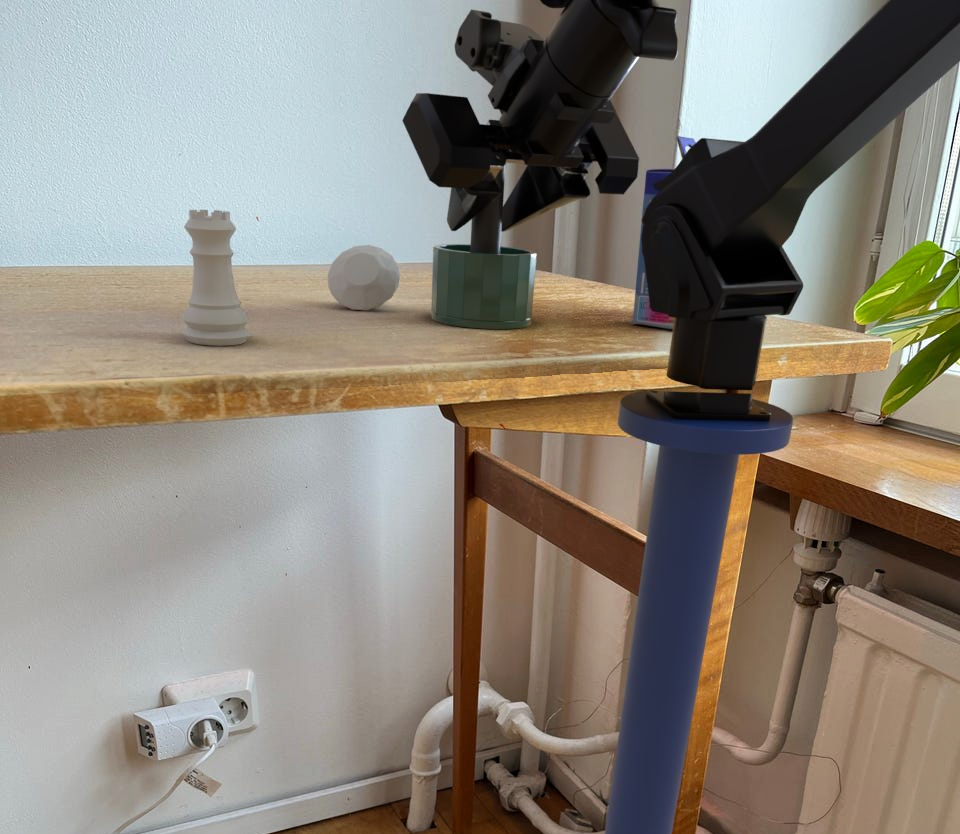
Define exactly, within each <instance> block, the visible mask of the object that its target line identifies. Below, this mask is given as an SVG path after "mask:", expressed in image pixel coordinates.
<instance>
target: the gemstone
mask: <svg viewBox="0 0 960 834" xmlns="http://www.w3.org/2000/svg"><path fill="white" fill-rule="evenodd" d="M400 279H401V272H400V267H399V265H398V262H397V261H396V259H395V258H394V256H393V255H392V254H390V253H389V252H387V251H386V250H385V249H384V248H382V247H378V246H375V245H370V244H364V245H355V246H352V247H350V248H348V249H346V250H344V251H342V252H341V253H340V254H339V255H338V256H337V257H336V258H335V259H334V260H333V261H332V263H331V265H330V267H329V271H328V273H327V286H328V288H329V292H330V294H331V296H332V297H333V299H335V300H336V302H337V303H339V305H341V306H344V307H346V308H348V309H350V310H351V311H353V310H354V311H355V310H360V311H366V312H367V311H369V310H371V309H375V308H380V307H381V306H383V305H384V304H385V303H386V302H388V301H389V300H391V299H392V298H393V296H394V295H395V293H396V292H397V289H398V288H399V286H400Z"/></svg>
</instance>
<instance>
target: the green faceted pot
mask: <svg viewBox="0 0 960 834" xmlns="http://www.w3.org/2000/svg"><path fill="white" fill-rule="evenodd" d="M470 245H471V243H443V244H442V243H441V244H435V245H434V246H433V249H432V275H431V277H432V278H431V279H432V281H431V308H430V310H431V311H430V312H431V319H432V320H433V321H434V322H437V323H440V324H444V325H448V326H453V327H461V328H470V329H480V330H481V329H482V330H483V329H484V330H514V329H522V328H527V327H529V326H531V325H532V317H533V306H534V305H533V304H534V294H535V283H536V282H535V281H536V280H535V279H536V268H537V256H538V253H537V251H534V250H531V249H528V248H527V249H526V248H520V247H513V246H512V247H511V246H503V245H501V247H500V254H488V253H474V252H470Z"/></svg>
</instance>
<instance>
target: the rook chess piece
mask: <svg viewBox="0 0 960 834" xmlns="http://www.w3.org/2000/svg"><path fill="white" fill-rule="evenodd" d="M188 216H189V218H188V219H187V221H186V223H185V224H184V226H183V228H184V229H185V230H186V232H187V234H188V235H189V236H190V237H191V240H192V245H191V247H192V248H190V250H189V254H190V255H191V257H192V263H193V274H192V275H193V276H192V288H191V295H190V299H188V300H187V304H188V307H187V308H186V309H185V310H184V311H183V313H182V319H181V320H182V321H183V322H184V324H186V326H187V327H186V328H185V329H184V330H183V331H182V335H183V336H184V338H185V339H186V340H187V341H188V342H190V343H191V344H195V345H200V346H201V345H203V346H217V347H218V346H219V347H222V346H223V347H224V346H236V345H241V344H242V345H243V344H244V343H246V342H247V341H248V339H249V337H250V336H251V332H250V331H249V330H248V329H247V328H245V327H246V325H247V324H248V323H249V319H250V318H249V316H248V313H247V312H246V310H245V309H243V307H242V306H241V305H242V301H241V300H240V299H239V297H238V294H237V290H236V285H235V279H234V273H233V266H232V257H233V256H234V254H235V252H234V251H233V250H232V247H231V238H232V237H233V236H234V234H235V232H236V230H237V227H236V225H235V224H234V223H233V221H231V212H230V211H228V210H227V211H224V210H218V209H217V210H216V209H214V210H213V211H211V212H210V215H209V210H208V209H199V211H198V209H189V210H188Z"/></svg>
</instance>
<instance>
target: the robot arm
mask: <svg viewBox="0 0 960 834" xmlns="http://www.w3.org/2000/svg"><path fill="white" fill-rule="evenodd" d="M539 1H540V2H541V4H542V5H544V6H545V7H547V8H549V9H563V10H562V11H561V12H560V14H559V16H558V18H557V19H556V21H555V23H554V25H553V27H552V28H551V30H550V31H549V33H548V35H547V36H546V38H543V37H542V36H541V35H540V34H539V33H537V31H535V30H534V29H532V28H531V27H529V26H526V25H524V24H521V23H515V22H509V21H503V20H499V19H496V18H495V19H494V18H493V15H492V13H491V12H489V11H483V10H477V9H470V11H469V12H468V14H467V15H466V17H465V19H464V20H463V22H462V23H461V25H460V26H459V29H458V31H457V34H456V39H455V43H454V52H455V56H456V57H457V58H458V59H459V60H460V61H461V62H463V64H465V65H466V66H467V68H468V69H469V70H470V71H472V72H473V73H477V74H479V75H480V76H481V77H482V78H483V79H484V80H485V81H486V82H487V83H488V84H490V86H492V87H491V89H490V91H489V92H488V94H487V98H488V100H489V102H490V104H491V107H492V108H493V109H494V110H499V112H500V114H501V115H500V117H499V119H488V120H487V122H486V124H483V123H480V121H479V119H478V118H477V115H476V113H475V111H474V109H473V107H472V104H471V103H470V100H469V98H468V97H467V96H459V95H447V94H438V93H430V92H419V93H418V92H417V93H416V94H415V95H414V97H413V99H412V100H411V102H410V104H409V106H408V108H407V110H406V112H405V114H404V116H403V118H402V120H401V121H402V124H403V125H404V127H405V130H406V132H407V135H408V137H409V138H410V141H411V143H412V145H413V148H414V150H415V152H416V155H417V157H418V159H419V161H420V163H421V166H422V167H423V169H424V172H425V174H426V176H427V178H428V181H430V182H431V183H432V184H434V185H435V186H436V187H438V188H450V194H449V202H448V207H447V216H446V223H447V226H448V227H449V229H450V231H451V232H457V231H458V230H459V229H461V228H462V227H465V226H466V224H468V223H469V222H471V221H472V218H474V217H475V216H476V215H477V214H478V213H479V212H481V211H482V210H483V209H484V208H485V207H486V206H488V205H489V204H490V203H491V202H493V201H494V200H495V199H496V198H497V197H498V196H500V195H501V193H502V192H501V189H500V187H499V185H498V183H497V181H496V179H495V177H496V176H497V174H498V173H499V171H500V170H501V169H503V168H504V166H505V164H520V165H521V164H523V165H525V166H526V167H525V169H524V171H523V172H522V174H521V175H520V177H519V179H518V180H517V182H516V183H515V185H514V187H513V189H512V190H511V192H510V194H509V196H508V197H507V199H506V201H505V202H504V203H503V215H502V231H501V233H502V232H507V231H510V230H512V229H514V228H517V227H518V226H520V225H522V224H525V223H527V222H529V221H531V220H534V219H535V218H538V217H540V216H542V215H545V214H547V213H549V212H552V211H554V210H557V209H560V208H561V207H564V206H566V205H569V204H571V203H574V202H577V201H579V200H586V199H587V198H589V197H590V195H591V189H590V187H589V185H588V183H587V181H586V177H587V176H588V174H589V171H588V169H589V168H590V167H591V165H592V164H593V162H595V163H597V164H598V166H599V168H600V170H601V171H599V173H598V174H597V176H596V177H595V178H594V183H595V187H596V190H597V192H598V193H599V194H601V195H623V196H624V194H625V193H626V192H627V191H628V190H629V188H630V187H631V186H632V185H633V183H634V182H635V181H636V179H638V175H639V167H640V157H639V155H638V153H637V151H636V150H635V147H634V145H633V142H632V141H631V139H630V137H629V135H628V133H627V131H626V129H625V127H624V125H623V123H622V122H621V119H620V117H619V115H618V114H617V110H616V108H615V106H614V105H613V102H612V101H611V99H612V97H613V96H614V94H615V93H616V92H617V90H618V89H619V87H620V86H621V85H622V83H623V81H624V80H625V79H626V78H627V76H628V75H629V73H630V72H631V70H632V69H633V67H634V66H635V65H636V63H637V62H638V60H639V59H640V58H643V59H653V60H663V61H669V62H670V61H675V60H676V59H677V57H678V53H679V47H678V46H679V40H678V34H677V29H676V21H677V16H678V12H677V10H676V9H675V8H670V7H663V6H660V3H659V2H658V0H539ZM959 62H960V0H887V1H886V2H884V3H883V5H882V6H881V7H880V8H879V9H878V10H877V11H876V12H875V13H874V14H873V15H872V16H871V17H870V18H869V19H868V20H867V21H866V22H865V23H864V24H863V25H862V26H861V27H860V28H859V29H858V30H857V31H856V32H855V33H854V34H852V36H851V37H850V38H849V39H848V40H847V41H846V42H845V43H843V45H842V46H841V47H840V48H839V49H838V50H837V51H836V52H835V53H834V54H832V56H831V57H830V58H829V59H828V60H827V61H826V62H825V63H824V64H823V65H822V66H821V67H820V68H819V69H818V70H817V71H816V72H815V73H814V74H813V75H812V76H811V78H810V79H808V80H807V81H806V83H804V84H803V85H802V86H801V87H800V89H798V91H796V92H795V93H794V95H792V97H791V98H790V99H788V101H786V103H785V104H783V106H782V107H780V108H779V109H778V111H776V113H775V114H774V115H773V116H771V118H770V119H768V121H766V123H765V124H764V125H763V126H762V127H760V129H759V130H757V132H755V134H754V135H752V136H751V137H750V138H748V139H747V140H745V141H740V140H728V139H719V138H709V137H707V138H706V137H701V138H699V139H698V140H697V141H695V142H696V143H695V144H694V145H693V146H692V147H691V148H690V147H689V149H688V150H686V154H685V156H684V157H683V159H682V158H681V160H680V161H679V163H678V164H677V165H676V166H675V168H673V169H674V171H672V172H671V173H670V174H669V175H668V176H666V177H665V178H663V179H661V180H659V181H656V182H655V183H654V185H653V187H654V189H656V190H658V191H660V192H659V193H658V194H657V195H656V196H655V197H654V198H653V199H652V200H651V202H650V203H649V205H648V206H647V208H646V209H645V212H644V214H643V216H642V215H641V220H640V221H641V222H642V225H643V229H642V236H641V242H642V254H643V257H644V263H645V271H646V278H647V286H648V293H649V301H650V308H651V310H652V311H653V312H658V313H664V314H666V315H667V316H669V317H674V325H673V329H672V331H671V332H672V334H671V341H670V348H669V355H668V361H667V369H666V377H667V379H670V380H671V381H674V382H677V383H680V384H685V385H689V386H695V387H698V388H700V389H703V390H720V391H721V390H722V391H753V389H754V386H755V385H756V381H757V374H758V369H759V364H760V358H761V354H762V353H761V352H762V348H763V342H764V336H765V330H766V325H767V320H768V319H767V318H768V317H767V316H789V315H790V314H791V313H792V311H793V308H795V305H796V303H797V301H798V299H799V297H800V295H801V294H802V291H803V289H804V282H803V280H802V279H801V277H800V275H799V274H798V271H797V270H796V268H795V266H794V264H793V263H792V261H791V259H790V258H789V256H788V254H787V253H786V251H785V248H784V247H783V246H784V244H785V243H786V242H787V241H788V240H789V238H790V237H791V236H792V235H793V233H794V231H795V228H796V226H797V224H798V223H799V220H800V217H801V216H802V213H803V211H804V208H805V206H806V203H807V201H808V200H809V198H810V196H811V195H812V194H813V193H814V192H815V191H816V190H817V189H818V188H819V187H820V186H821V185H823V184H824V183H825V182H826V181H827V180H828V179H829V178H830V177H832V175H834V173H836V172H837V171H838V170H839V169H840V168H841V167H843V166H844V165H845V164H846V163H847V162H849V161H850V159H851V158H853V157H854V156H855V155H857V153H859V151H861V150H862V149H863V148H864V147H865V146H866V145H867V144H868V143H870V142H871V141H872V140H873V139H874V138H875V137H876V136H878V135H879V134H880V133H881V132H882V131H883V130H885V128H886V127H888V126H889V125H890V124H891V123H892V122H893V121H894V120H895V119H896V118H898V117H899V116H900V115H901V114H902V113H903V112H904V111H906V110H907V109H908V108H909V107H910V106H911V105H912V104H913V103H915V102H916V101H917V100H918V99H919V98H920V97H921V96H922V95H924V93H926V92H927V91H928V90H929V89H930V88H931V87H932V86H934V85H935V84H936V83H937V82H938V81H939V80H940V79H942V78H943V77H944V76H945V75H946V74H947V73H948V72H950V71H951V70H952V69H953V68H954V67H955V66H956V65H957V64H958V63H959ZM505 167H506V166H505ZM646 391H647V393H646V398H648V399H649V400H650V401H652V402H653V403H654V404H655V405H657V406H658V407H659V408H661V409H662V410H663V411H665V412H666V413H667V414H669V415H670V416H671V417H673V418H675V419H683V420H730V421H769V420H770V416H771V414H770V413H769V412H767V411H765V410H764V409H762V408H760V407H759V406H757V405H755V404H754V403H752V399H754V398H753V397H754V393H746V392H745V393H744V392H709V391H708V392H707V391H705V392H702V391H671V390H670V391H667V390H646Z"/></svg>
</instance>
